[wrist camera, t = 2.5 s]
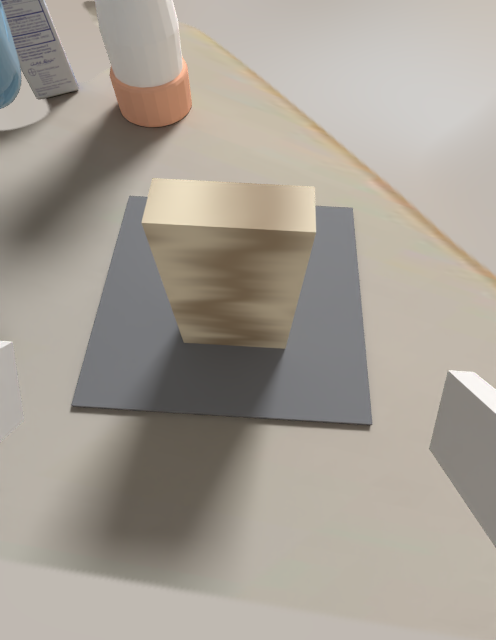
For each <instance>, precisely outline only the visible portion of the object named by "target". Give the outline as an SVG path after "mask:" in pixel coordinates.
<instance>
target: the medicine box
mask: <svg viewBox="0 0 496 640" xmlns="http://www.w3.org/2000/svg"><path fill="white" fill-rule="evenodd" d="M1 2H2V5H3V8H4V11H5V14H6V18H7V21H8V24H9V28H10V31H11V34H12V37H13V41H14V44H15V48H16V52H17V55H18V59H19V63H20V68H21V70H22V72H23V74H24V76H25V77H26V79H27V81H28V83H29V85H30V87H31V89H32V91H33V93H34V94H35V96H36V97H37V99H44V98H49V97H53V96H57V95H61V94H65V93H68V92H72V91H77V90H78V89H79V87H78V84H77V81H76V79H75V76H74V74H73V71H72V69H71V66H70V63H69V61H68V58H67V56H66V53H65V51H64V48H63V46H62V43H61V41H60V38H59V36H58V33H57V31H56V28H55V26H54V23H53V21H52V18H51V16H50V13H49V10H48V8H47V5H46V3H45V0H1Z"/></svg>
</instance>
